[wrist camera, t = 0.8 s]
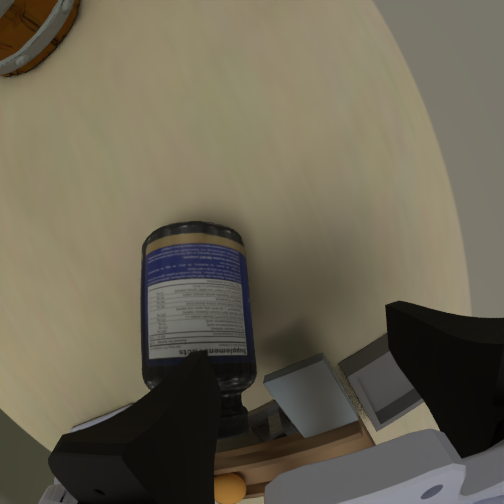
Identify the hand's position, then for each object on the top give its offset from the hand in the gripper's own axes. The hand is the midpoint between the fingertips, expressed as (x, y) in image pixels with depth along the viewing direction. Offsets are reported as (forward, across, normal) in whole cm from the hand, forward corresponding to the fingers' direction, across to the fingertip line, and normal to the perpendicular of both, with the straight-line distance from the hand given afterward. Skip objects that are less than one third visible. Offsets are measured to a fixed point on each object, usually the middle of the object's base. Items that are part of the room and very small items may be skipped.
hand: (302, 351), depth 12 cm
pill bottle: (+8, +4, -4) cm, 10 cm away
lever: (+7, +4, +11) cm, 14 cm away
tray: (+11, -8, +11) cm, 17 cm away
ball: (+5, +8, +16) cm, 18 cm away
